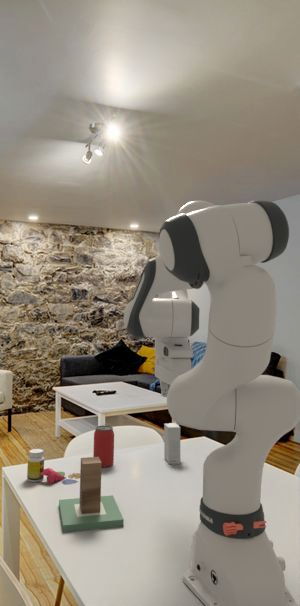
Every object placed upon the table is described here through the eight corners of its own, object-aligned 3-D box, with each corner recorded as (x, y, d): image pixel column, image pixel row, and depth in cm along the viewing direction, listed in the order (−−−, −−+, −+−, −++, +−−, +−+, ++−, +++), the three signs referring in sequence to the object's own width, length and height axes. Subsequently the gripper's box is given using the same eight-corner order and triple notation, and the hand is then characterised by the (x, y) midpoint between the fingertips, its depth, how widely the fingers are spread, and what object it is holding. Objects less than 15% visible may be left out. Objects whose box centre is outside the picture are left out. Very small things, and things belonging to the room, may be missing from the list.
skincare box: (180, 463, 151) (181, 427, 151) (167, 464, 150) (168, 427, 150) (175, 457, 157) (176, 422, 157) (163, 458, 156) (163, 422, 156)
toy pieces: (65, 490, 128) (66, 474, 128) (35, 482, 134) (35, 467, 134) (90, 476, 139) (91, 462, 139) (61, 469, 144) (61, 455, 144)
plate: (123, 525, 108) (123, 519, 108) (63, 532, 104) (63, 525, 104) (112, 501, 121) (112, 495, 121) (58, 505, 118) (59, 499, 118)
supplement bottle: (41, 482, 133) (42, 453, 133) (25, 482, 133) (26, 453, 133) (45, 476, 137) (45, 448, 138) (29, 476, 137) (30, 448, 137)
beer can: (91, 462, 151) (92, 425, 151) (111, 460, 153) (111, 424, 153) (95, 468, 145) (96, 430, 145) (115, 467, 147) (116, 429, 147)
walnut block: (100, 512, 111) (101, 462, 111) (81, 514, 110) (82, 463, 110) (97, 504, 116) (98, 456, 116) (79, 506, 114) (80, 457, 114)
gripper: (149, 344, 131) (148, 392, 130) (171, 351, 111) (170, 408, 111) (170, 344, 132) (169, 392, 132) (196, 351, 112) (194, 408, 112)
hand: (170, 400), depth 121 cm, fingers open, 8 cm apart
